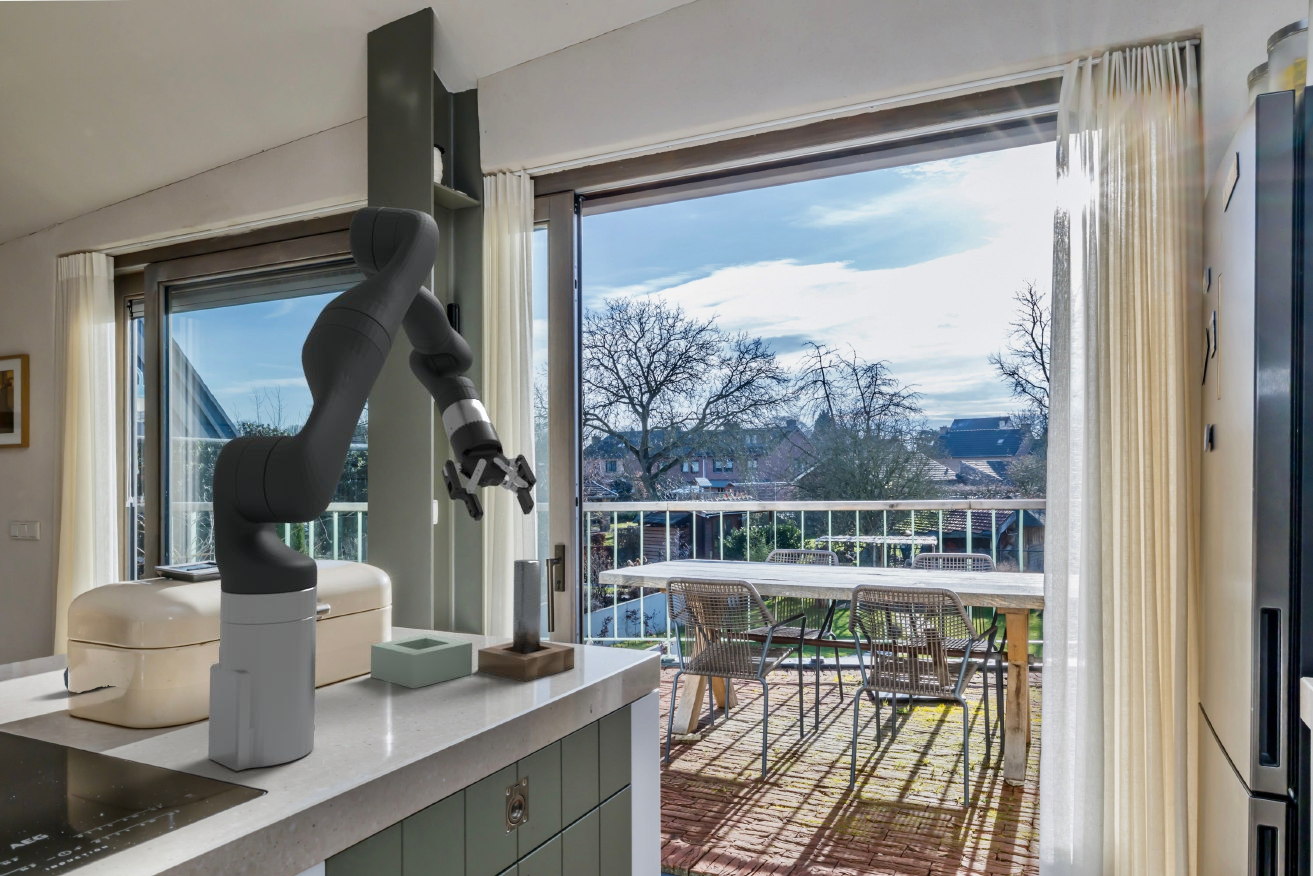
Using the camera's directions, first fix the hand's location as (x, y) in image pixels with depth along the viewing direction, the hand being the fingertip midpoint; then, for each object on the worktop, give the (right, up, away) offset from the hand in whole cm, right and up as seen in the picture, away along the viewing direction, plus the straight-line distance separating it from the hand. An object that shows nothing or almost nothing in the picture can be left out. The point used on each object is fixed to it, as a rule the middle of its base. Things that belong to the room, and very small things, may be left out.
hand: (504, 514), depth 128 cm
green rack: (-10, -22, -9) cm, 26 cm away
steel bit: (+4, -23, -5) cm, 23 cm away
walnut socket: (+4, -22, -5) cm, 23 cm away
